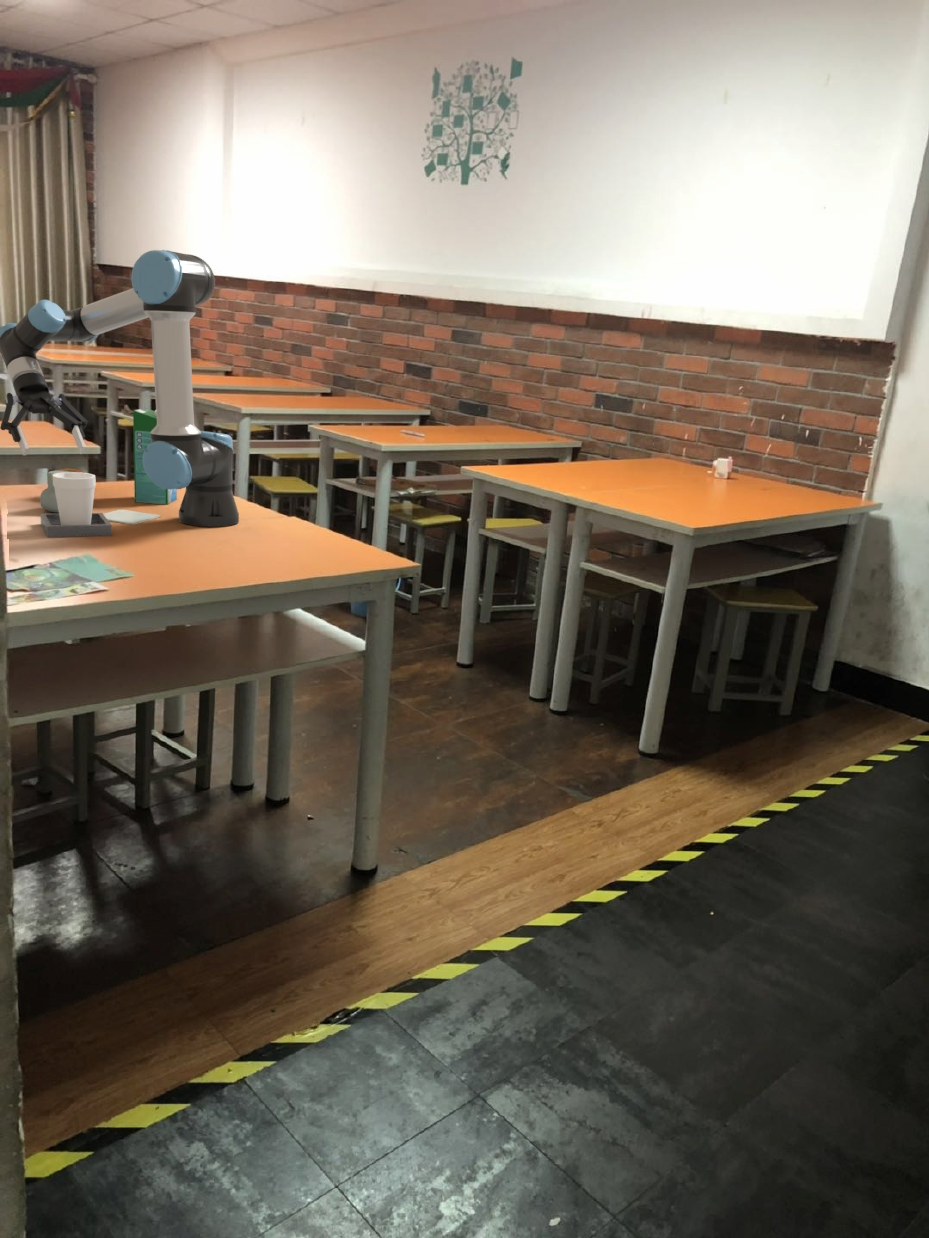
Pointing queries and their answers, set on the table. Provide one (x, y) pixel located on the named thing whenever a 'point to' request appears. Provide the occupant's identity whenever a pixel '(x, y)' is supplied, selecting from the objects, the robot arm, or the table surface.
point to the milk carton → (142, 439)
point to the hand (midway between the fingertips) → (55, 451)
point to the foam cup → (74, 497)
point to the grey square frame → (76, 526)
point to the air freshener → (50, 494)
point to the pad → (129, 516)
